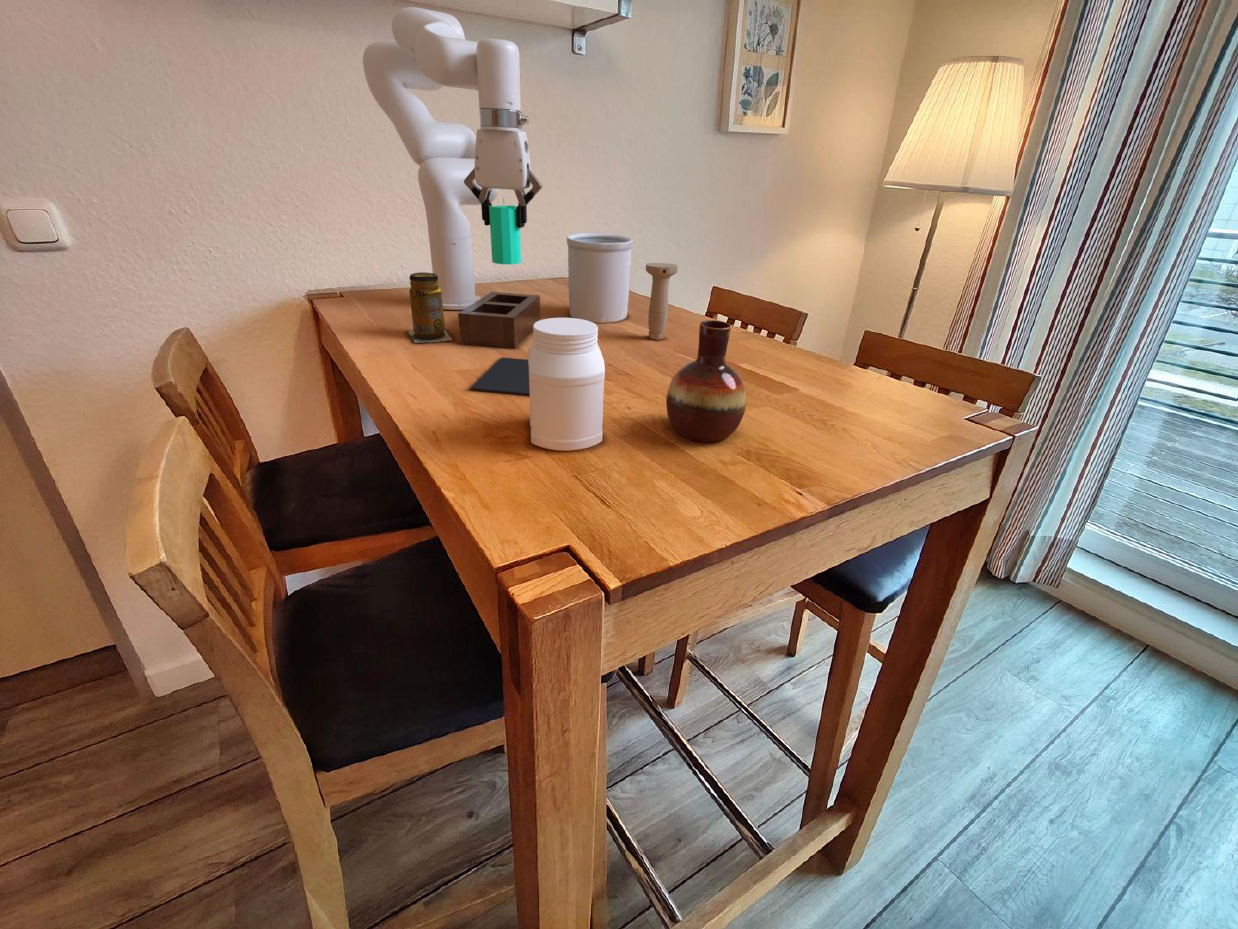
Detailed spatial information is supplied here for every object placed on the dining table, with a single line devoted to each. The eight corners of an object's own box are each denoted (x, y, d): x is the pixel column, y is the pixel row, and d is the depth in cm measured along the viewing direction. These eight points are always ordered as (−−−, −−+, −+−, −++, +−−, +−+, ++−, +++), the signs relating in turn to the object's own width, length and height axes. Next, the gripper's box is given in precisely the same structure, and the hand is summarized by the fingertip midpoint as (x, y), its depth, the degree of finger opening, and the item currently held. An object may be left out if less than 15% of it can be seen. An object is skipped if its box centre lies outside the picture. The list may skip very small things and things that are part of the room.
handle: (673, 341, 123) (680, 267, 116) (643, 341, 122) (648, 266, 115) (668, 335, 127) (674, 263, 120) (639, 335, 126) (643, 262, 119)
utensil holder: (617, 327, 131) (621, 244, 122) (556, 318, 135) (556, 238, 126) (637, 312, 143) (641, 236, 135) (580, 305, 147) (581, 231, 139)
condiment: (444, 329, 123) (438, 270, 117) (452, 340, 116) (447, 278, 111) (408, 332, 120) (400, 271, 114) (414, 344, 113) (406, 280, 108)
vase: (651, 419, 87) (659, 315, 79) (716, 411, 90) (730, 311, 83) (684, 452, 78) (697, 338, 70) (756, 442, 81) (775, 333, 74)
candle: (496, 264, 117) (493, 199, 111) (488, 259, 121) (484, 196, 115) (525, 263, 119) (523, 199, 113) (515, 258, 124) (513, 196, 118)
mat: (470, 390, 94) (470, 387, 93) (501, 359, 108) (501, 357, 107) (581, 400, 92) (581, 398, 92) (597, 367, 106) (597, 365, 106)
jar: (605, 450, 77) (609, 338, 70) (531, 452, 76) (528, 338, 69) (594, 415, 87) (597, 314, 80) (529, 416, 86) (526, 314, 79)
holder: (460, 343, 115) (457, 313, 112) (492, 318, 132) (491, 291, 129) (514, 348, 114) (513, 317, 111) (540, 322, 131) (539, 295, 128)
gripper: (550, 124, 111) (551, 226, 119) (462, 119, 112) (469, 220, 121) (541, 123, 104) (542, 231, 113) (447, 118, 106) (456, 225, 114)
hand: (504, 224), depth 117 cm, fingers closed on candle, 6 cm apart
